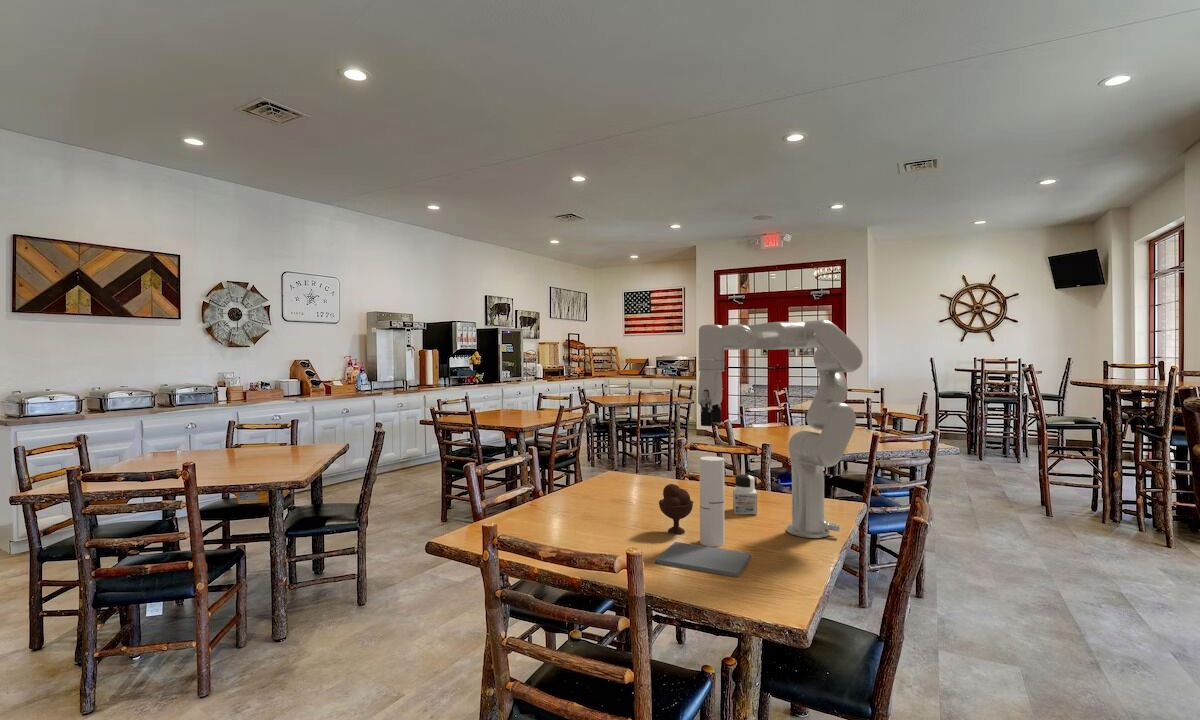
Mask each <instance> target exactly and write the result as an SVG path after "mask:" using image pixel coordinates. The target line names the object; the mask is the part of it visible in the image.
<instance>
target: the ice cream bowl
mask: <svg viewBox="0 0 1200 720" xmlns="http://www.w3.org/2000/svg"><path fill="white" fill-rule="evenodd" d="M662 496H663V499H659V501H658V506H659V509H660V511H661V512H662V513H663V515H664V516H666V517H667V518H669V519H671V520H672V522H673V526H671V527H670V528H668V530H667V533H668V534H670V535H675V536H676V535H677V536H678V535H683V534H685V533H686V531H685V529H684V528H682V527H680V520H682V519H685V518H686V517H688V516H689V515H690V514H691V512H692V510H693V507H694V501H692V500H691V495H690V494H689V492H688V491H687V490H685V489H684V488H681V487H680V486H679V485H677V484H675V483H670V484H667V485H665V486H664V488H663V490H662Z"/></svg>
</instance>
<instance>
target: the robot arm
mask: <svg viewBox="0 0 1200 720" xmlns="http://www.w3.org/2000/svg"><path fill="white" fill-rule="evenodd" d="M797 349H798V350H799V349H801V350H803V349H816V350H815V351H814V353H813V363H814V365H815V368H816V370H817V373H818V376H819V384H818V388H817V390H816V393H815V394H814V397H813V399H812V401H811V404H810V406H809V408H808V410H807V413H806V418H805V419H806V423H807V425H808V426H809V427H810V428H812V429H814V430H817V431H821V432H820V433H819V432H815V431H810V430H809V431H808V430H800V431H796V433H794V434H793V435H792V436H790V439H789V442H788V454H789V459H790V464H791V523H790V524H788V525H787V526H786V531H787V532H788V533H789V534H791V535H793V536H797V537H800V538H808V539H822V538H823V537H824V538H827V537H828V536H830V534H831V532H830V531H834V532H840V530H841V527H840V526H841V525H840V524H837V523H836V522H828V521H827V517H825V474H824V468H831V467H834V466H836V465H837V464H838V463H839V462H840V461H841V459H842V458H843V456H844V453H845V451H846V449H847V447H848V444H849V442H850V440H851V438H852V436H853V433H854V430H855V428H856V425H857V424H856V423H857V415H856V413H855V411H854V408H852V406H851V405H849V404H847V403H844V402H845V399H846V396H847V393H848V382H847V378H846V375H845V374H844V373H853V372H855V371H857V370H859V369H860V368H861V366H862V364H863V358H864V357H863V354H862V352H861V351H862V350H861V349H860V348H859V347H858V345H856V343H855V342H854V341H852V339H851V338H850V337H849V336H848V335H847V334H845V332H844V331H843V330H842V329H840V328H839V326H838V325H836V324H834V323H833V322H832V321H830V320H827V319H819V320H806V321H805V320H804V321H773V322H763V323H758V324H750V325H748V324H747V325H744V324H742V323H741V324H739V323H737V324H736V323H735V324H729V325H728V324H727V325H721V324H704V325H701V326H700V327H699V328H698V372H699V378H698V391H697V403H698V404H699V405H700V426H701V427H712V426H713V424H721V423H722V405H721V404H722V401H723V376H722V372H725V351H732V350H733V351H738V350H764V351H765V350H766V351H768V350H771V351H773V350H774V351H776V350H797ZM823 467H824V468H823Z"/></svg>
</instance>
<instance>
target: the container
mask: <svg viewBox="0 0 1200 720" xmlns="http://www.w3.org/2000/svg"><path fill="white" fill-rule="evenodd" d="M732 490H733V491H732V497H733V499H732V504H733V505H732V507H733V513H734V514H735V515H742V514H757V515H758V493H757V491H756V488H755V477H754V476H752V475H750V474H738V475H736V476H735V487H733V488H732Z"/></svg>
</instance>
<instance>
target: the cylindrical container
mask: <svg viewBox="0 0 1200 720" xmlns="http://www.w3.org/2000/svg"><path fill="white" fill-rule="evenodd" d="M725 525H726V523H725V458H724V457H721V456H713V455H712V456H710V455H709V456H701V457H699V543H700V544H701V545H702V546H707V547H713V548H719V547H722V545H723V546H724V545H725V542H726V541H725V539H726V538H725V536H726V535H725Z"/></svg>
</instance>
